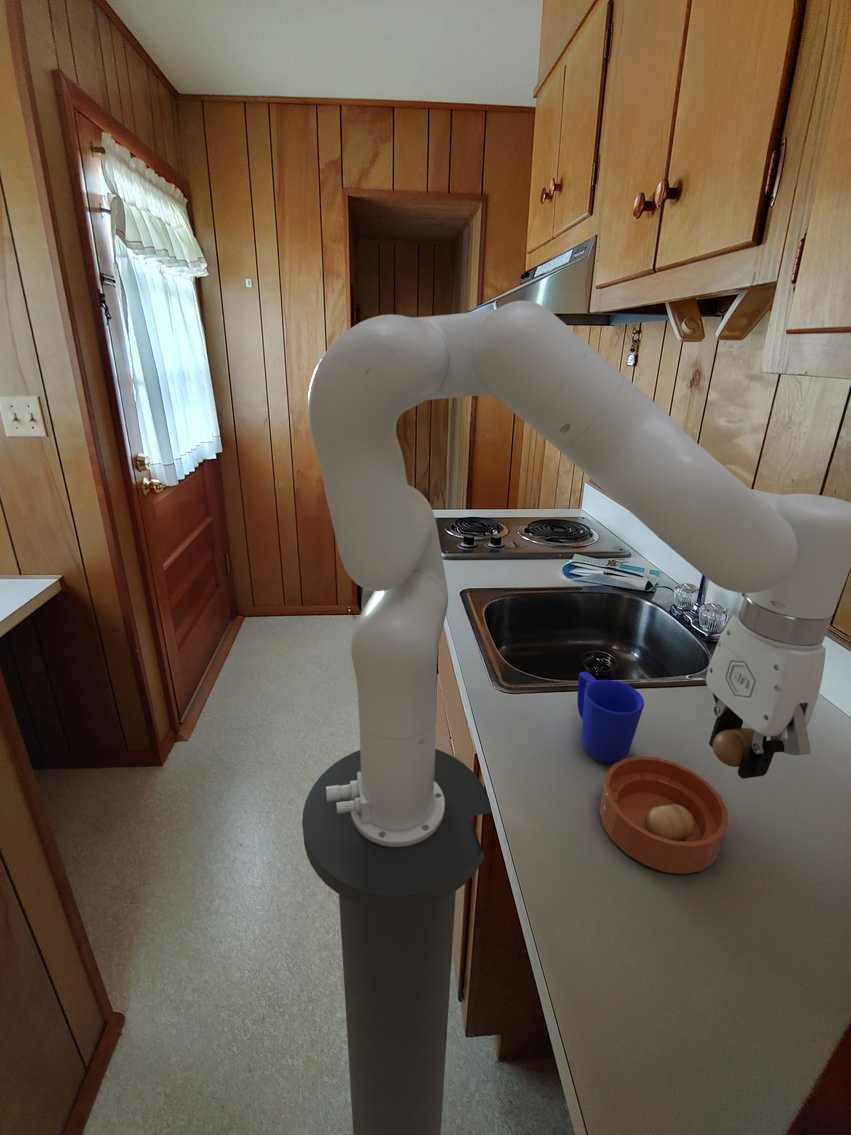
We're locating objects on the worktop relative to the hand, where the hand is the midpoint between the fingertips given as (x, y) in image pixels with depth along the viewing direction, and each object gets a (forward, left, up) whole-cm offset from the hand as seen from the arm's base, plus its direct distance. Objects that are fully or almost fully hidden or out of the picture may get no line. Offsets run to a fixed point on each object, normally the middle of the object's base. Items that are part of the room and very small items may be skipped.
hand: (736, 758), depth 62 cm
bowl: (-5, +4, -14) cm, 15 cm away
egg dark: (0, 0, 0) cm, 0 cm away
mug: (-5, +20, -14) cm, 25 cm away
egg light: (-5, +1, -13) cm, 14 cm away
